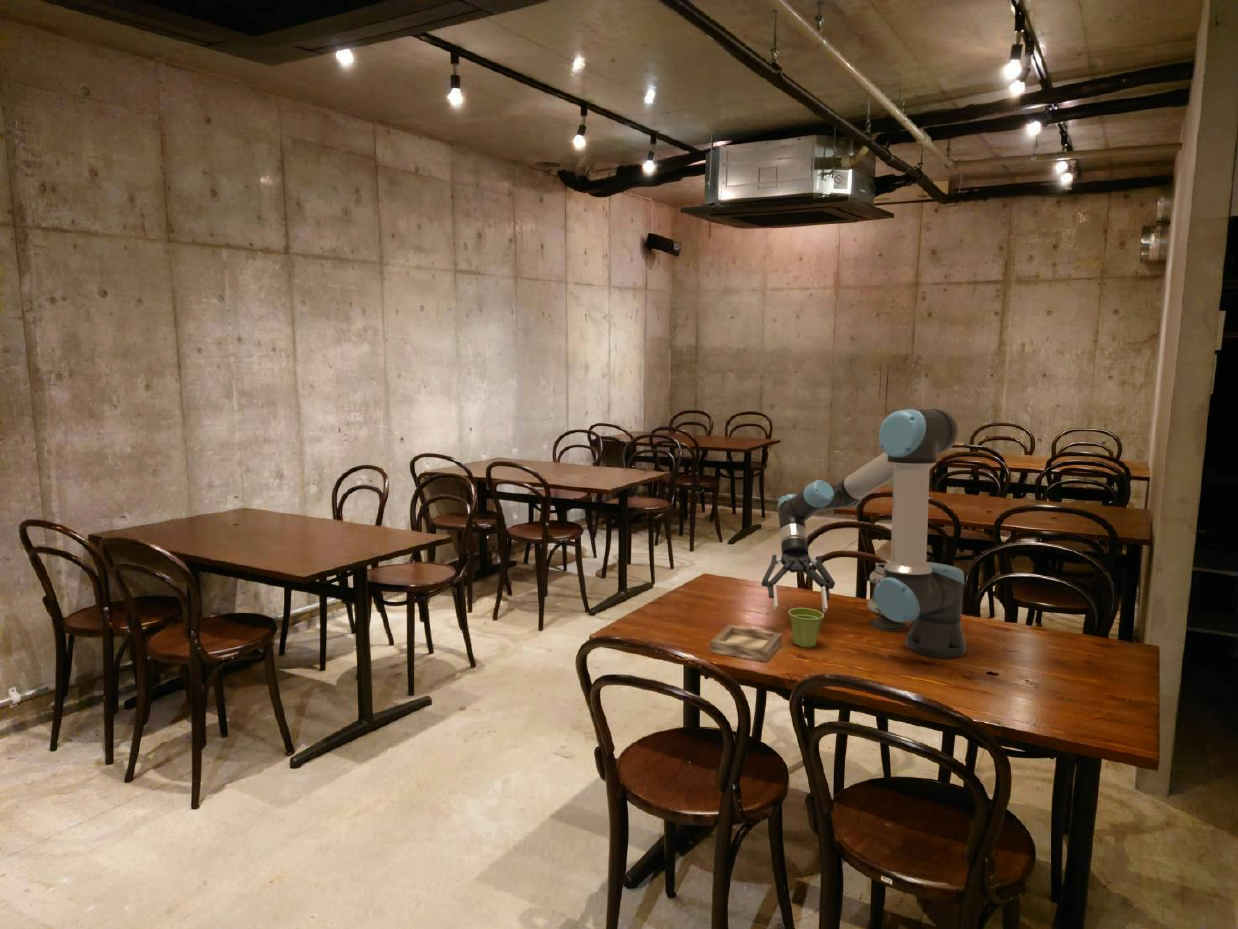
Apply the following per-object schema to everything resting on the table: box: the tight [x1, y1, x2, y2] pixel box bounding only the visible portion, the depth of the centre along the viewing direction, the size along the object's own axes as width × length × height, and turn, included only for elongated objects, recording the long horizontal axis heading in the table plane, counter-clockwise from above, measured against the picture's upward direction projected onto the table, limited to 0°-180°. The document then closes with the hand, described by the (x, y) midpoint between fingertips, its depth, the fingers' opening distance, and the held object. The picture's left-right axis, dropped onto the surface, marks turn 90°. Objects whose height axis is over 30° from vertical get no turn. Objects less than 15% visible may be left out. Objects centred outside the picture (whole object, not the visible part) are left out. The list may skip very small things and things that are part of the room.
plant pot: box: [788, 607, 825, 648], centre depth 212 cm, size 9×9×9 cm
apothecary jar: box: [866, 562, 907, 632], centre depth 227 cm, size 12×12×18 cm
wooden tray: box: [709, 624, 783, 663], centre depth 208 cm, size 15×15×3 cm
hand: (800, 609), depth 215 cm, fingers open, 13 cm apart
